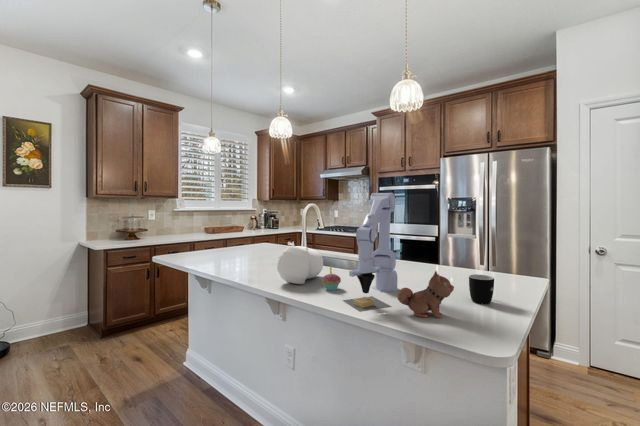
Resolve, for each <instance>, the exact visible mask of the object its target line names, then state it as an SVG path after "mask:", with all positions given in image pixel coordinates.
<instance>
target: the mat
mask: <svg viewBox="0 0 640 426" xmlns="http://www.w3.org/2000/svg"><path fill="white" fill-rule="evenodd" d="M367 297H368V298H370V299H373V300H374V305H372V306H368V307H364V308H361V307H359V306H356V305H354V299H357V298H358V297H356V298H349V299H342V300H341V301H343V302H344V303H345V304H347V305H349V306H350V307H351V308H353V309H355V310H356V311H358V312H366V311H372V310H381V309H386V308H392V305H390V304H388V303H386V302H384V301H382V300H380V299H378V298H377V297H374V296H367Z"/></svg>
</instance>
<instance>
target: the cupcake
mask: <svg viewBox="0 0 640 426" xmlns="http://www.w3.org/2000/svg"><path fill="white" fill-rule="evenodd" d="M321 279H322V282H323V284H324V285H325V286H324V287H325V289H326V290H327V291H337V290H338V288H339V285H340V283H341V282H342V280H341V279H342V278H341V277H340V276H339V275H338V274H334V273H333V272H332V264H330V265H329V273H328V274H325V275H324V276H323V277H322V278H321Z"/></svg>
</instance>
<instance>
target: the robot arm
mask: <svg viewBox="0 0 640 426" xmlns="http://www.w3.org/2000/svg"><path fill="white" fill-rule="evenodd" d="M369 201H370V206H371V207H370V211H369V213H368V214H366V215H365V217H364V219H363V222H362V224H361V226H359V227H358V228H357V229H356V233H355V238H356V245H357V246H358V253H357V254H358V255H357V257H358V258H357V259H358V260H357V261H358V262H357V263H358V266H357V268H356V269H352V270H349V275H348V276H350V277H352V278H353V277H357V279H358V281H359V284H360V287H361V291H362V293H363V294H369V292H370V288H372V289H374V290H375V291H378V292H380V293H385V292H392V291H399V288H398V272H397V271H396V269H395V268H396V264H397V261H396V260H397V259H396V253H395V252H394V251H393V250H392V249H390V237H391V234H390V233H391V214H392V213H393V212H394V211H395V208H396V197H395V194H394V193H393V192H372V193H371V195H370V198H369ZM378 225H379V227H378ZM377 227H378V248H377V249H376V250H374V243H375V241H376V238H377ZM374 279H375V286H372V283H373V280H374ZM371 286H372V287H371Z"/></svg>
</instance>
